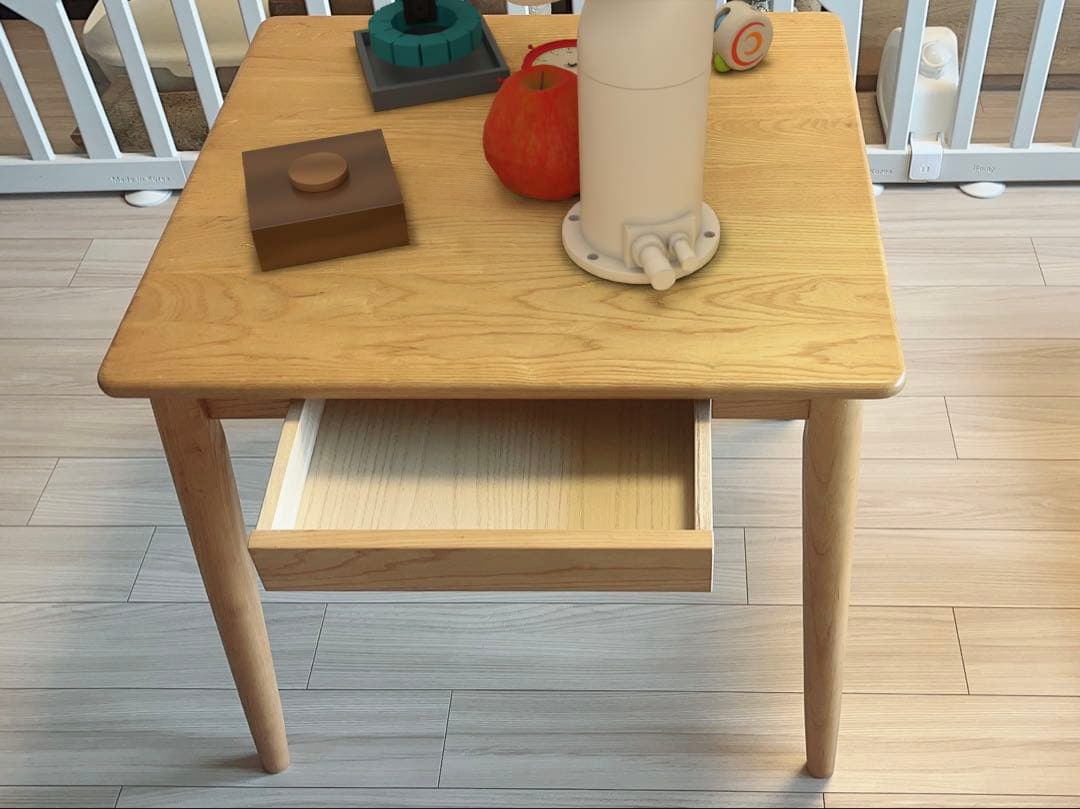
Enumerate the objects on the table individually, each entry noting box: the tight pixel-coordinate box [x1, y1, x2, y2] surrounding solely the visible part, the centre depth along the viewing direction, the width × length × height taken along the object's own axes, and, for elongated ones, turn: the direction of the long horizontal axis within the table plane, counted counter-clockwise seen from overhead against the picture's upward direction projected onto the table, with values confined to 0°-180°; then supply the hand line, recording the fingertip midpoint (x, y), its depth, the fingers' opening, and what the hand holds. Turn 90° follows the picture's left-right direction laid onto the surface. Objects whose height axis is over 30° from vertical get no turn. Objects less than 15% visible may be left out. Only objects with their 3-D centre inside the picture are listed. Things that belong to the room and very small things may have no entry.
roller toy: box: [712, 0, 774, 73], centre depth 109 cm, size 4×6×6 cm
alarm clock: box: [498, 38, 577, 83], centre depth 105 cm, size 10×6×15 cm
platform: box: [241, 128, 411, 272], centre depth 93 cm, size 12×12×5 cm
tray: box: [352, 10, 511, 112], centre depth 112 cm, size 13×13×2 cm
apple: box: [482, 64, 580, 201], centre depth 93 cm, size 10×10×10 cm
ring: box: [367, 0, 482, 67], centre depth 111 cm, size 11×11×2 cm
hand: (418, 13), depth 114 cm, fingers closed on ring, 2 cm apart
